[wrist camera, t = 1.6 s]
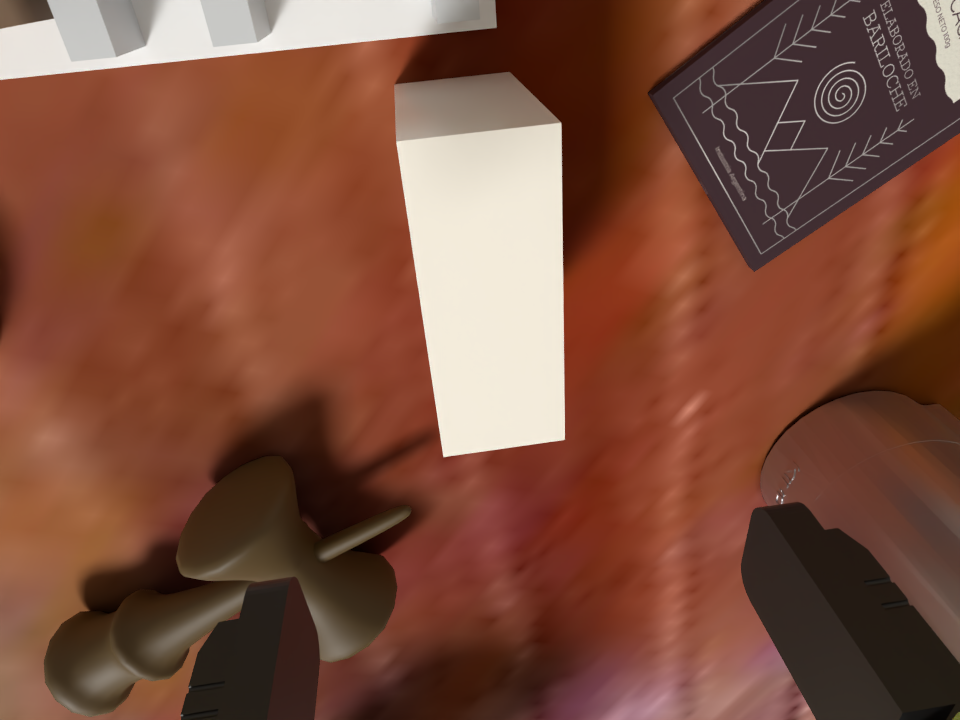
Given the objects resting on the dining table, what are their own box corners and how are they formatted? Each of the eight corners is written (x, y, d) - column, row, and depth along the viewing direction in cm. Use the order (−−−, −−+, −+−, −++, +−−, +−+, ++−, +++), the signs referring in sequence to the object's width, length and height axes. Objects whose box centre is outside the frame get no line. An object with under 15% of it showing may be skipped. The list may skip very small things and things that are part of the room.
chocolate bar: (652, 95, 22) (1195, -335, 18) (643, 90, 23) (1161, -322, 19) (754, 271, 27) (1212, -38, 22) (744, 262, 28) (1183, -39, 23)
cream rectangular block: (509, 71, 22) (561, 122, 15) (522, 321, 27) (564, 439, 21) (394, 84, 22) (396, 141, 15) (430, 333, 27) (443, 456, 21)
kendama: (30, 570, 33) (351, 397, 28) (171, 652, 38) (459, 516, 34) (-35, 685, 28) (341, 496, 24) (137, 762, 33) (470, 617, 29)
